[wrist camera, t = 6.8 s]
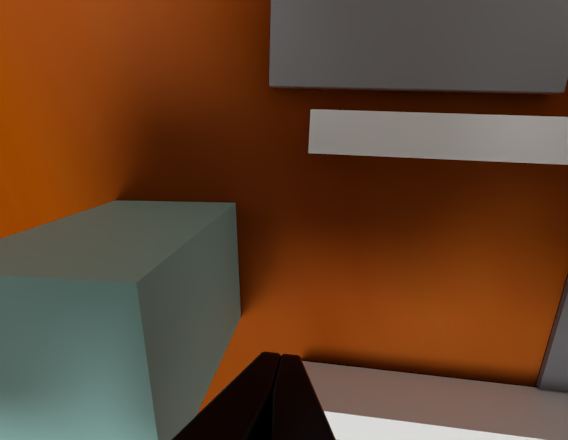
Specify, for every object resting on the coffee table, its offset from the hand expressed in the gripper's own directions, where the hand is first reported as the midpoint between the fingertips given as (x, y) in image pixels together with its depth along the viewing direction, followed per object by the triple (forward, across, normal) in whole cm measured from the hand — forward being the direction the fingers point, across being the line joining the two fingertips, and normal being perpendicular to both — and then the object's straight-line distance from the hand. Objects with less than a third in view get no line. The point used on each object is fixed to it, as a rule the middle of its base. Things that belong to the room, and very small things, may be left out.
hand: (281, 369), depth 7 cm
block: (+6, +5, 0) cm, 8 cm away
